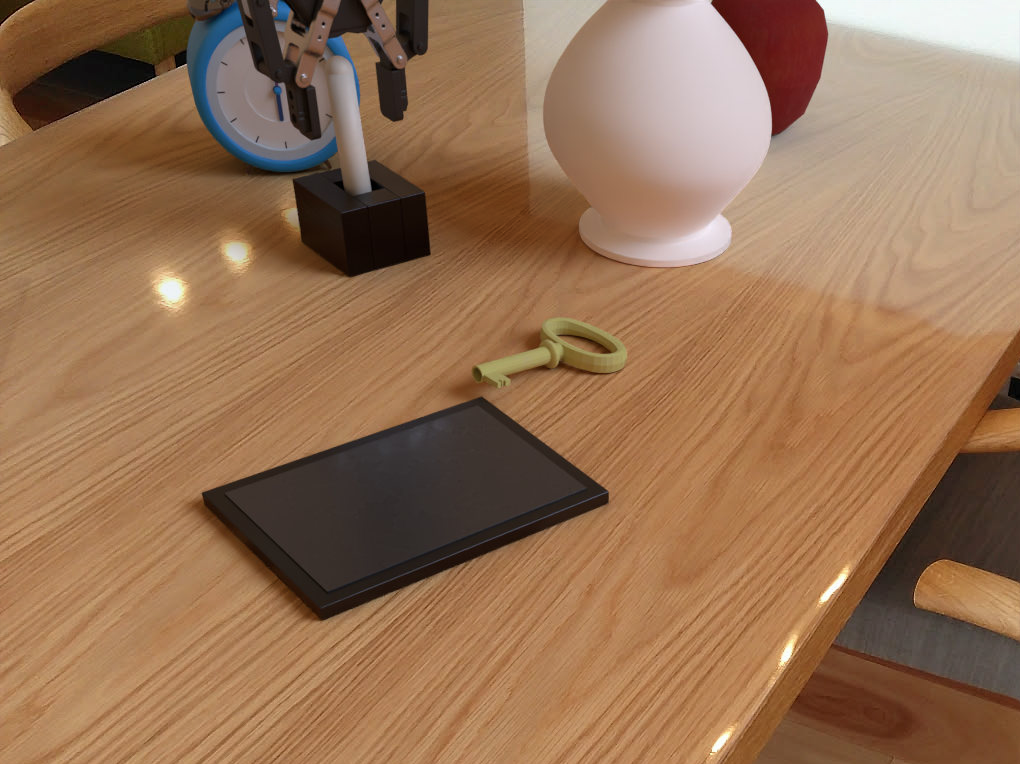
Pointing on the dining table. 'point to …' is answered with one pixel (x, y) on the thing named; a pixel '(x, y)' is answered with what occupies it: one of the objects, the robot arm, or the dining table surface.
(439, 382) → the dining table surface
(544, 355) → the key
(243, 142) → the alarm clock
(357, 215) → the holder
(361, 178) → the stylus
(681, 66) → the decorative vase
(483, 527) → the tablet
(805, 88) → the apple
